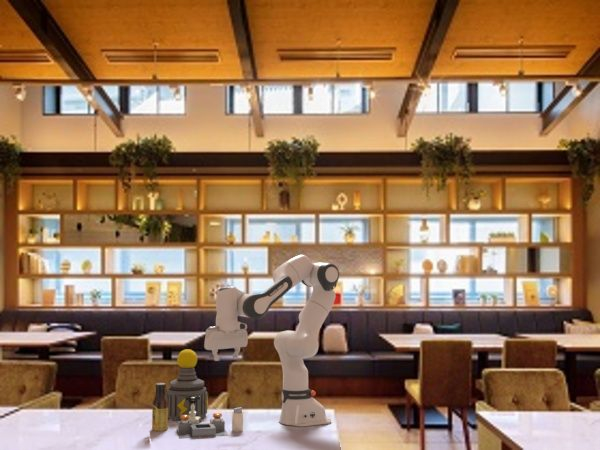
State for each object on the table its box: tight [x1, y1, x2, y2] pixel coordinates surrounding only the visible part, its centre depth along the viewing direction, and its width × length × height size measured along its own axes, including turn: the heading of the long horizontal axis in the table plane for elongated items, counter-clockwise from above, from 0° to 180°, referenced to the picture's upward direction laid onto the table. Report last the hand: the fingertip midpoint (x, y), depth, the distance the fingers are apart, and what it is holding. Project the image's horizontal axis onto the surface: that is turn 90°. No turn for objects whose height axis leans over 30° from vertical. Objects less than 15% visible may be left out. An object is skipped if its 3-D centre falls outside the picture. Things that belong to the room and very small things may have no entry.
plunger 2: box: [212, 412, 223, 421], centre depth 267 cm, size 4×4×6 cm
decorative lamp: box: [165, 348, 209, 422], centre depth 298 cm, size 19×19×30 cm
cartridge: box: [231, 406, 244, 433], centre depth 265 cm, size 4×4×10 cm
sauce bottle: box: [151, 382, 169, 432], centre depth 267 cm, size 7×6×20 cm
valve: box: [185, 396, 202, 424], centre depth 280 cm, size 7×7×12 cm
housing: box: [176, 418, 229, 440], centre depth 261 cm, size 19×15×5 cm
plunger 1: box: [180, 415, 190, 423], centre depth 264 cm, size 4×4×6 cm
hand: (226, 359), depth 271 cm, fingers open, 8 cm apart
